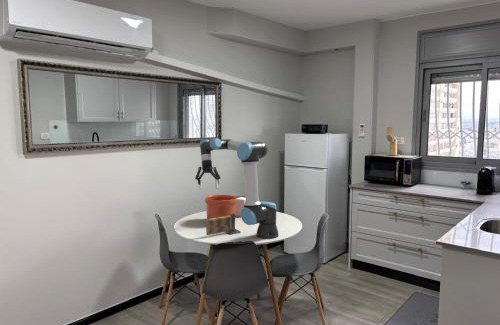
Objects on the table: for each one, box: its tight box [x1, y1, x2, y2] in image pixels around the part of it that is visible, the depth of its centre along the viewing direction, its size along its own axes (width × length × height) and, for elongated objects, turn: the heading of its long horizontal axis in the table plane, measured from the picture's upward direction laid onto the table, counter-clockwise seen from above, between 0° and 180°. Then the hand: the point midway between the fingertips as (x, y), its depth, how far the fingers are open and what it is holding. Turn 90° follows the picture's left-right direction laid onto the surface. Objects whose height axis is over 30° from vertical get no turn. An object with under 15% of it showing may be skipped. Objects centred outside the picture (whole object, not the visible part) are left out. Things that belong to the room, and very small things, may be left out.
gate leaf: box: [205, 216, 231, 236], centre depth 250 cm, size 18×2×10 cm, turn 125°
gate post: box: [225, 213, 241, 235], centre depth 257 cm, size 8×8×14 cm
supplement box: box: [235, 196, 246, 218], centre depth 304 cm, size 9×9×15 cm
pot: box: [204, 194, 238, 219], centre depth 286 cm, size 25×25×19 cm
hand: (209, 188), depth 268 cm, fingers open, 13 cm apart
